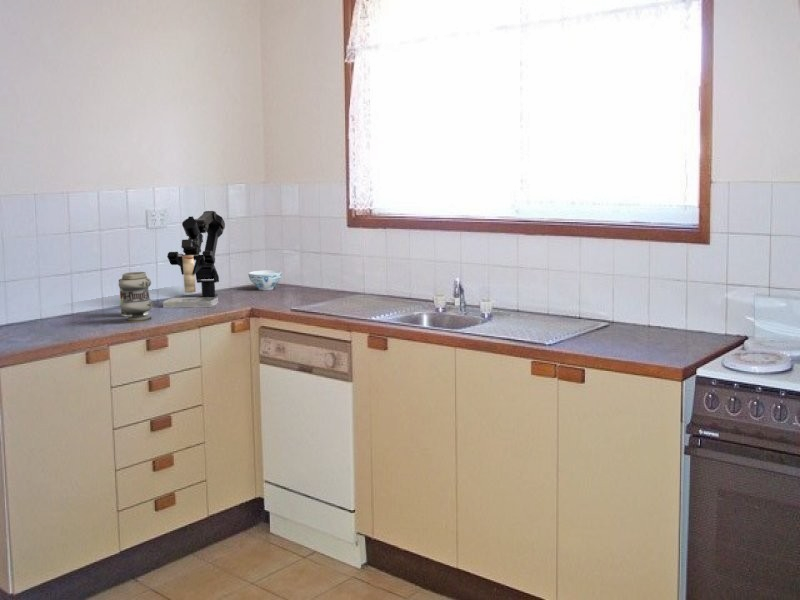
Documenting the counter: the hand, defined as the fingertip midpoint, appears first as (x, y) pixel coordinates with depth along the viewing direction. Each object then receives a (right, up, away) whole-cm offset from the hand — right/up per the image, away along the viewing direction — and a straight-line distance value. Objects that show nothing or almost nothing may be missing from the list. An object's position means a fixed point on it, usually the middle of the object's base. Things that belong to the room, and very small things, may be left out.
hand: (187, 274), depth 388 cm
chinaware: (+25, -6, +45) cm, 52 cm away
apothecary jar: (-12, -18, -29) cm, 36 cm away
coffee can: (-17, -16, -15) cm, 28 cm away
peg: (0, -7, +2) cm, 8 cm away
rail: (0, -13, +3) cm, 13 cm away
